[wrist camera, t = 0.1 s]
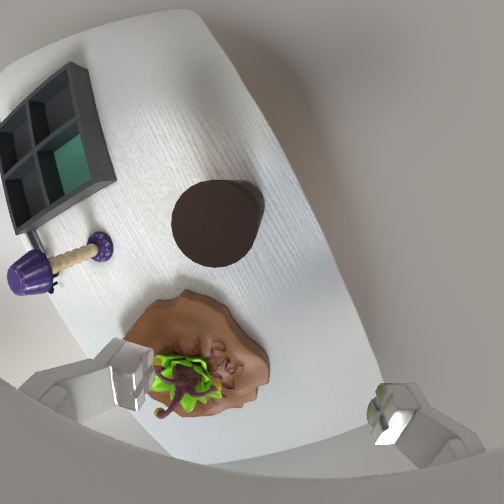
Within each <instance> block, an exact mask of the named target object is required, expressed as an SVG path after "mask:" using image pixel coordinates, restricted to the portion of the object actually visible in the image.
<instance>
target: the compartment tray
mask: <svg viewBox="0 0 504 504" xmlns="http://www.w3.org/2000/svg"><path fill="white" fill-rule="evenodd" d="M0 174H1V179H2V184H3V189H4V193H5V197H6V202H7V206H8V209H9V213H10V217H11V220H12V223H13V227H14V230H15V234H16V235H19V234H22V233H26V232H29V231H33V230H35V229H37V228H38V227H40V226H41V225H43V224H44V223H46V222H47V221H49V220H50V219H52V218H54V217H55V216H57V215H58V214H60V213H61V212H63V211H65V210H66V209H68V208H70V207H71V206H73V205H75V204H76V203H78V202H80V201H81V200H83V199H85V198H86V197H88V196H90V195H92V194H93V193H95V192H97V191H99V190H101V189H102V188H104V187H106V186H108V185H110V184H112V183H113V182H115V181H117V179H116V176H115V173H114V169H113V166H112V163H111V160H110V156H109V153H108V150H107V146H106V143H105V139H104V136H103V132H102V128H101V125H100V121H99V117H98V113H97V109H96V105H95V101H94V97H93V92H92V88H91V83H90V79H89V74H88V70H87V69H85V68H83V67H81V66H79V65H77V64H75V63H73V62H71V61H70V62H68V63H67V64H66V65H64V66H63V67H62V68H60V69H59V70H58V71H57V72H55V73H54V74H53V75H52V76H50V77H49V78H48V79H47V80H46V81H44V82H43V83H42V84H41V85H40V86H39V87H38V88H36V89H35V90H34V91H33V92H32V93H31V94H30V95H29V96H28V97H26V98H25V99H24V100H23V101H22V102H21V103H20V104H19V105H18V106H17V107H16V108H15V109H14V110H13V111H12V112H11V113H10V114H9V115H8V116H7V117H6V118H5V119H4V120H3V121H2V123H1V124H0Z"/></svg>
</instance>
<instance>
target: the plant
mask: <svg viewBox="0 0 504 504" xmlns="http://www.w3.org/2000/svg"><path fill="white" fill-rule="evenodd" d="M123 340H125V341H127V342H132V343H135V344H138V345H141V346H144V347H148V348H151V349H153V350H154V356H155V359H154V361H153V362H152V365H153V367H154V368H155V378H154V382H153V386H152V388H151V390H150V392H149V393H148V395H149V396H150V397H151V398H153V399H154V400H157V401H159V402H161V403H163V404H165V405H166V406H167V407H169V408H168V409H167V410H166V411H165V410H164V409H163V408H157V409H156V410H155V412H154V414H155V416H156V417H157V418H159V419H163V418H165V417H166V416H168V415H169V414H170V413H171V412H172V411H174V412H176V413H177V414H178V415H180V416H181V417H199V416H212V415H215V414H218V413H220V412H222V411H224V410H226V409H228V408H242V406H243V404H244V403H246V402H249V401H254V400H255V399H256V398H257V390H258V386H260V385H264V384H267V383H268V382H269V378H270V363H269V359H268V356H267V354H266V353H265V352H264V351H263V349H262V348H260V347H259V346H258V345H257V344H256V343H254V342H253V341H252V340H251V339H249V338H248V337H247V336H246V335H245V334H244V333H243V331H242V330H241V329H240V328H239V326H238V325H237V324H236V323H235V321H234V320H233V319H232V317H231V315H230V313H229V310H228V308H227V307H226V306H224V305H221V304H219V303H217V302H216V301H214V300H213V299H211V298H209V297H207V296H204V295H198V294H195V293H193V292H190V291H189V290H184V291H183V292H182V293H181V294H180V295H179V297H177V298H176V299H173V300H169V301H163V300H157V301H155V302H153V303H152V304H151V305H150V306H149V307H148V308H147V310H146V311H145V312H144V314H143V315H142V316H141V317H140V318H139V319H138V321H137V322H136V323H135V324H134V326H133V327H132V328H131V329H130V331H129V332H128V333H127V334H126V335H125V337H124V338H123Z"/></svg>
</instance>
